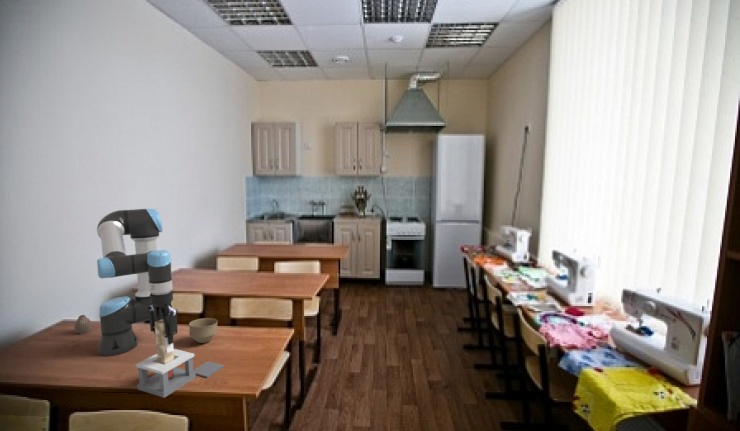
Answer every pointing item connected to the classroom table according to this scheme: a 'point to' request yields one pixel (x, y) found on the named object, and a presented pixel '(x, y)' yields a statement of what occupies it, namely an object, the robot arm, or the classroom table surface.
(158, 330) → the light wooden bar
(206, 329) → the bowl
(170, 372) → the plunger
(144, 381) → the grey open box frame
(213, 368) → the pad
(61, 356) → the classroom table surface
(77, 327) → the brown rounded lump
